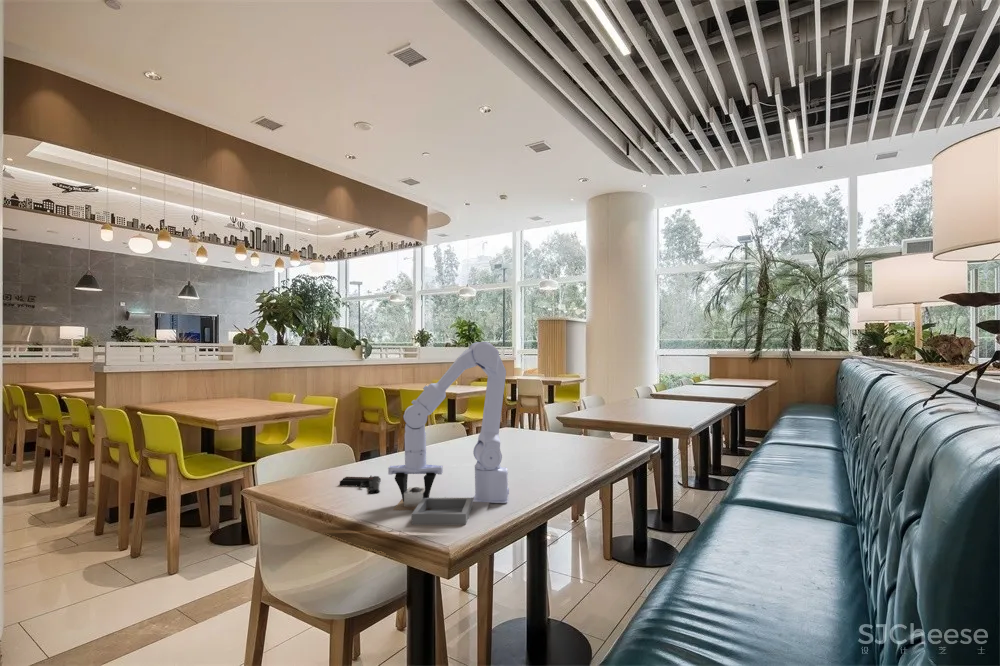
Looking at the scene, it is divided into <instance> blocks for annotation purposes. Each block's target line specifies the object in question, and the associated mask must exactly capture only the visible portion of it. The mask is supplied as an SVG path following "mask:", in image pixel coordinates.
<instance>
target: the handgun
mask: <svg viewBox="0 0 1000 666" xmlns="http://www.w3.org/2000/svg"><path fill="white" fill-rule="evenodd" d="M381 479H382V478H380V476H379V475H373V476H372V475H370V476H367V477H366V476H344V477H343V478H342V479H341V480H339V486H341V485H357V486H356V487H360V488H365V489H366V488H368V494H369V495H374V494H375V493H376V494H380V492H381V490H380V484H381V483H380V482H381Z"/></svg>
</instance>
